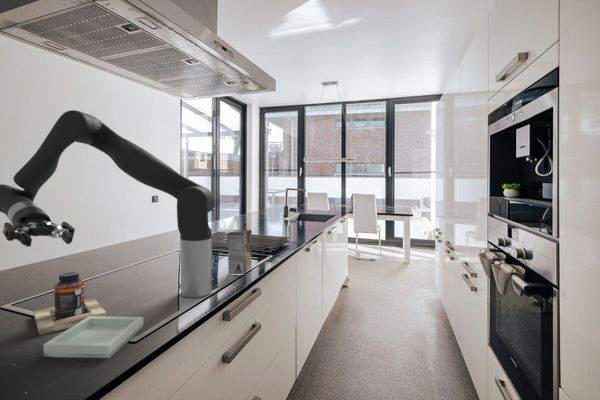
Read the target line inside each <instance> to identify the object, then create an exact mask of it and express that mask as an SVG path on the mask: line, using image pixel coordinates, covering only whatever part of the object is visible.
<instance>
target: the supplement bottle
mask: <svg viewBox="0 0 600 400" xmlns="http://www.w3.org/2000/svg"><path fill="white" fill-rule="evenodd" d="M58 280H59V282H57V283H56V284H55V286H54V307H55V316H54V317H55V318H54V319H55V321H56V320H60V319H64V318H69V317H73V316H77V315H81V314H85V309H84V300H85V287H84V286H85V284H84V281H83V280H81V279H80V272H78V271H68V272H62V273H60V274H59V275H58Z"/></svg>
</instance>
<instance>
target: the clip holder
mask: <svg viewBox="0 0 600 400" xmlns="http://www.w3.org/2000/svg"><path fill="white" fill-rule="evenodd" d="M33 316H34V321H35V325H36V328H37V332H38V335H39V336H41V335H46V334H50V333H54V332H58V331H61V330H65V329H66V330H67V329H69V328H71V327H72V326H74V325H76V324H77V323H79V322H80V321H82V320H84V319H85V318H87V317H88V316H107V311H106V310H105V309H104V308H103V307H102V305H101V304H100V303H99V302H98V301H97V299H96V298H95V297H94V298H90V299H84V314H81V315H77V316H73V317H69V318H64V319H60V320H56V319H55V318H54V317H55V306H52V307H47V308H41V309H37V310H34V311H33Z"/></svg>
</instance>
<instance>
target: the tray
mask: <svg viewBox="0 0 600 400" xmlns="http://www.w3.org/2000/svg"><path fill="white" fill-rule="evenodd" d="M144 324H145V323H144V317H143V316H107V315H106V316H88V317H87V318H85V319H84V320H82V321H80V322H79V323H77V324H76V325H74V326H72V327H70V328H67V329H66V330H64V331H63V332H61V333H59V334H58V335H57V336H54V337H53V338H51V339H50V340H48V341H47V342H45V343H44V344H43V347H42V348H43V358H76V359H79V358H80V359H81V358H84V359H85V358H86V359H111V357H113V355H115V354H116V353H117V352H118V351H120V349H121V348H123V346H125V345H126V344H127V343H128V342H130V340H131V339H132V338H134V336H136V335H137V334H138V333H140V331H141V330H142V329H143V328H144V327H145V326H144Z"/></svg>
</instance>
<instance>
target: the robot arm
mask: <svg viewBox="0 0 600 400" xmlns="http://www.w3.org/2000/svg"><path fill="white" fill-rule="evenodd" d="M75 142H76V143H80V144H85V145H88V146H90V147H92V148H95V149H97V150H98V151H100V152H102V153H104V154H105V155H107V156H108V157H109V158H110V159H111V160H112V161H113V163H114V164H115V165H116V166H117V167H118V168H119V169H120V171H122V172H123V173H125V174H126V175H128V176H129V177H130V178H132V179H133V180H136V181H137V182H139V183H141V184H143V185H145V186H148V187H150V188H153V189H155V190H158V191H161V192H164V193H165V194H168V195H169V196H172V197H173V198H175V199H176V217H177V220H176V222H177V229H178V232H179V235H180V236H179V238H180V239H179V240H180V242H179V243H180V245H179V246H180V296H182V297H184V298H189V299H190V298H193V299H194V298H202V297H205V296H208V295H210V294H211V293H212V292H213V291H212V290H213V282H212V281H213V275H212V274H213V272H212V271H213V264H212V263H213V262H212V261H213V260H212V259H213V257H212V256H213V251H212V249H213V248H212V247H213V244H212V243H213V242H212V236H213V235H212V233H213V231H212V228H210V226H209V213H210V212H211V211H212V210H213V209H214V207H215V205H216V200H215V197H214V194H213V192H211V190H210V189H208V188H207V187H206V186H205V187H204V186H203V185H201V184H199V183H196V182H195V181H193V180H191V179H189V178H187V177H185V176H184V175H182V174H180V173H179V172H178V171H176V170H175V169H174V168H172V167H171V166H170V165H168V164H167V163H165V162H164V161H162V160H161V159H160V158H158V157H156V156H155V155H154V154H152V153H151V152H149V151H147V150H146V149H144V148H142V147H140V146H139V145H137V144H135V143H133V142H132V141H130V140H128V139H127V138H124V137H122V136H121V135H119V134H117V133H116V131H114V130H112V129H111V128H110V127H109V126H108V125H107V124H105V122H103V121H101V120H100V119H99V118H98V117H96V116H94V115H92V114H88V113H85V112H82V111H78V110H76V109H75V110H74V109H72V110H67V111H65V112H63V113H62V114H61V115H60V116H59V117H58V119H57V120H56V121H55V123H54V125H53V126H52V127H51V130H50V131H49V133H48V134H47V136H46V137H45V138H44V140H43V142H42V143H41V144H40V146H39V147H38V149H37V150H36V152H35V153H34V154H33V155H32V157H30V159H29V160H28V161H27V162H25V164H24V165H23V166H22V167H21V168H20V169H19V170H18V171H17V172H16V173H15V174H14V176H13V182H14V183H15V185H16V186H18V187H19V188H21V189H19V188H17V187H14V186H11V185H8V184H1V183H0V213H3V214H5V216H6V217H7V218H8V220H9V222H4V224H3V230H2V234H3V235H4V237H5V238H6V241H9V242H11V241H12V242H13V241H14V240H17V242H20V244H21V245H22V246H25V247H31V246H32V243H33V242H32V241H33V238H32V237H41V236H42V237H49V238H53V239H56V238H59V239H61V240H62V241H63V242H64V243H65V244H67V245H71V243H72V242H73V238H74V235H75V230H76V228H75V227H73V226H72V225H71V224H69V223H68V222H66V221H62V222H61V224H57V223H55V222H52V219H51V218H50V216H49V215H48V214H47V213H46V212H45V211H44V210H43V209H42V207H40V206H39V205H37V204H35V202H34V201H35V198H36V196H37V195H38V192H39V191H40V189H41V188H42V187H43V186H44V184H45V183H47V181H48V180H49V179H51V177H53V175H54V174H55V173H56V171H57V169H58V168H57V167H58V165H59V161H60V157H61V156H62V154H63V152H64V151H65V150H66V149H67V148H69V146H71V145H72V144H74V143H75Z"/></svg>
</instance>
